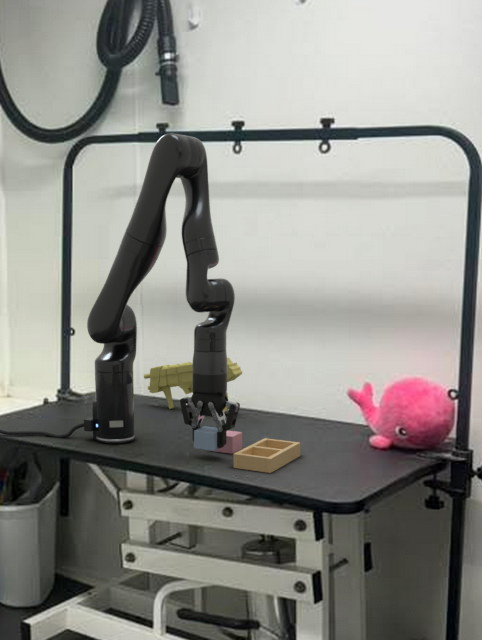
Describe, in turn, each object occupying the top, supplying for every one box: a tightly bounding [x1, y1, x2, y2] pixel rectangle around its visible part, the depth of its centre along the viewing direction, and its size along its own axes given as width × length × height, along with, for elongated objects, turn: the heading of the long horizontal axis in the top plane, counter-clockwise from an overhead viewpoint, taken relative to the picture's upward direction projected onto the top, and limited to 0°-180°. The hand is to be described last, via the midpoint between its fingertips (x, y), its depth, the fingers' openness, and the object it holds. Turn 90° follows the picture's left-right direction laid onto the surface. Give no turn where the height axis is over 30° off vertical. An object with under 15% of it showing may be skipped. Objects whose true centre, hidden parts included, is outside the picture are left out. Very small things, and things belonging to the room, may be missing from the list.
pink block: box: [214, 430, 243, 455], centre depth 215 cm, size 5×5×4 cm
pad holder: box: [232, 437, 301, 474], centre depth 204 cm, size 8×16×3 cm, turn 144°
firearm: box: [143, 357, 243, 413], centre depth 257 cm, size 4×30×15 cm, turn 51°
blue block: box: [193, 425, 219, 452], centre depth 208 cm, size 5×5×4 cm
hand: (209, 445), depth 208 cm, fingers closed on blue block, 5 cm apart
